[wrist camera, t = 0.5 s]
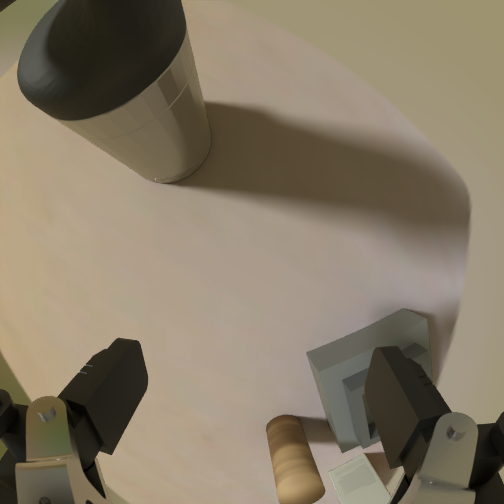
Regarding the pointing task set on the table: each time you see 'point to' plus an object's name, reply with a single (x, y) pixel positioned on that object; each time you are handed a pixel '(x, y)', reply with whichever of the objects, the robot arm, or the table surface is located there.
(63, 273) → the table surface
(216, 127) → the table surface
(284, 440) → the cardboard roll
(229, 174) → the table surface
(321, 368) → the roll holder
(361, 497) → the small box
